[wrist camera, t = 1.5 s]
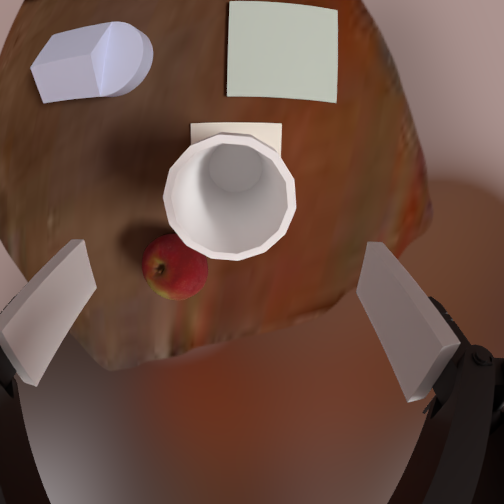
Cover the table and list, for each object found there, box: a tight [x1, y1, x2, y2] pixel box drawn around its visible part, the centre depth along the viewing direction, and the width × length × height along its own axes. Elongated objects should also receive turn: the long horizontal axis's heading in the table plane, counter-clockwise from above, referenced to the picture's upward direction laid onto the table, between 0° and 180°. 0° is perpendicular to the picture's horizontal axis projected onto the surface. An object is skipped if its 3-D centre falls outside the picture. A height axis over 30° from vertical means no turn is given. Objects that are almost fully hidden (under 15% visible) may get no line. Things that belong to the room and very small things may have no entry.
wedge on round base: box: [30, 22, 153, 103], centre depth 22 cm, size 9×7×13 cm
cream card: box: [191, 122, 282, 157], centre depth 31 cm, size 10×10×1 cm
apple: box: [142, 233, 208, 300], centre depth 33 cm, size 8×8×8 cm
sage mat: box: [227, 1, 338, 103], centre depth 25 cm, size 12×12×1 cm
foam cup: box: [163, 132, 296, 261], centre depth 26 cm, size 10×9×13 cm
